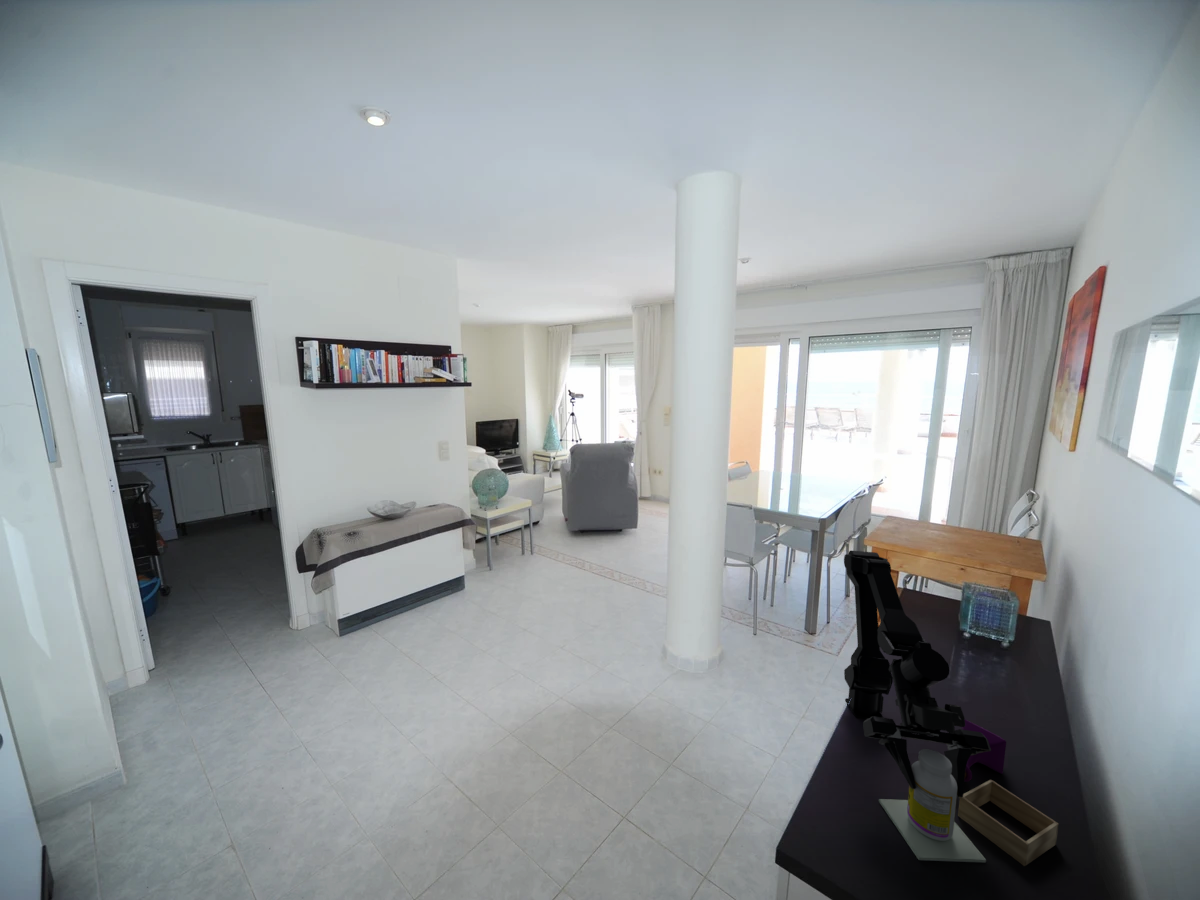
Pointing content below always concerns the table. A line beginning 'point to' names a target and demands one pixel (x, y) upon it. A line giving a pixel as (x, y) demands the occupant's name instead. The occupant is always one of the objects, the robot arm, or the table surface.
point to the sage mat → (927, 847)
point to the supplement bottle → (933, 796)
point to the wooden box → (998, 832)
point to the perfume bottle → (989, 758)
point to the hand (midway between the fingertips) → (936, 792)
